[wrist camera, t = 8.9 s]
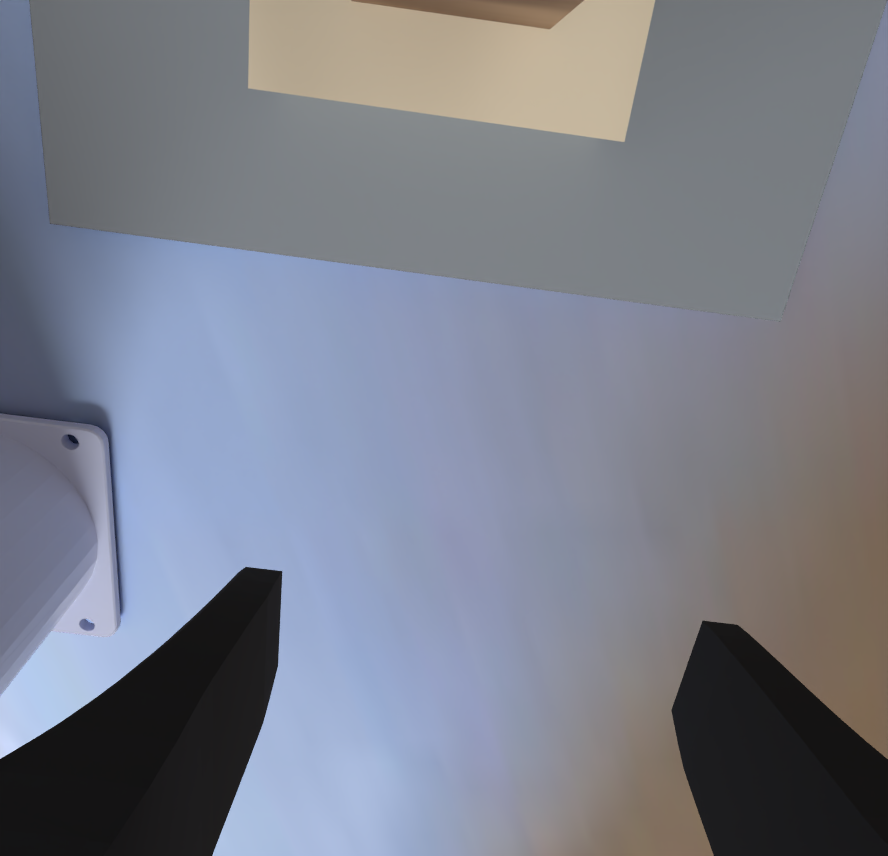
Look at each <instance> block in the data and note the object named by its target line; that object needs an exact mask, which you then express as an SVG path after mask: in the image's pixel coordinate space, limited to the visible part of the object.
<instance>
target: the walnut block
mask: <svg viewBox="0 0 888 856" xmlns="http://www.w3.org/2000/svg"><path fill="white" fill-rule="evenodd" d="M351 1H354V2H361V3H368V4H375V5H382V6H389V7H396V8H403V9H410V10H417V11H424V12H431V13H438V14H445V15H452V16H459V17H466V18H473V19H480V20H487V21H494V22H501V23H508V24H515V25H522V26H529V27H536V28H543V29H551V28H552V27H553V26H555V25H556V24H557V23H558V22H559V21H560V20H562V19H563V18H564V17H565V16H566V15H567V14H569V13H570V12H571V11H572V10H573V9H575V8H576V7H577V6H578V5H579V4H580V3H582V2H583V1H584V0H351Z"/></svg>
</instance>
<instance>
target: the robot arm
mask: <svg viewBox="0 0 888 856" xmlns="http://www.w3.org/2000/svg"><path fill="white" fill-rule="evenodd" d="M68 434H70V435H73V436H75V437H76V438H77V439H78V442H79V444H74V443H72V442H71V441H70V440H69V438H68ZM281 586H282V571H275V570H267V569H258V568H250V567H245V568H244V569H242V570H241V571H240V572H238V573H237V574H236V576H235V577H234V578H233V579H232V580H231V581H230V582H229V583H228V584H227V585H226V586H225V587H224V588H223V589H222V590H221V591H220V592H219V593H218V594H217V595H216V596H215V597H214V598H213V599H212V600H211V601H210V602H209V603H208V604H207V605H206V606H204V607H203V608H202V609H201V610H200V611H199V612H198V613H197V614H196V615H195V616H194V617H193V618H192V619H191V620H190V621H189V622H187V623H186V624H185V625H184V626H183V627H182V628H181V629H180V630H179V631H177V632H176V633H175V634H174V635H173V636H172V637H171V638H170V639H169V640H168V641H166V642H165V643H164V644H163V645H162V646H161V647H160V648H158V649H157V650H156V651H155V652H154V653H152V654H151V655H150V656H149V657H147V658H146V659H145V660H144V661H142V662H141V663H140V664H139V665H138V666H136V667H135V668H134V669H133V670H131V671H130V672H129V673H128V674H127V675H125V676H124V677H123V678H122V679H120V680H119V681H118V682H116V683H115V684H114V685H112V686H111V687H110V688H108V689H107V690H106V691H104V692H103V693H102V694H100V695H99V696H98V697H96V698H95V699H94V700H92V701H91V702H89V703H88V704H87V705H85V706H84V707H82V708H81V709H79V710H78V711H76V712H75V713H73V714H72V715H71V716H69V717H68V718H66V719H65V720H63V721H62V722H60V723H59V724H57V725H56V726H54V727H52V728H51V729H49V730H48V731H46V732H44V733H43V734H41V735H40V736H38V737H36V738H35V739H33V740H31V741H30V742H28V743H26V744H25V745H23V746H21V747H20V748H18V749H16V750H15V751H13V752H11V753H10V754H8V755H6V756H5V757H3V758H1V759H0V856H212V855H213V852H214V849H215V847H216V844H217V841H218V839H219V836H220V834H221V831H222V828H223V826H224V823H225V821H226V818H227V816H228V813H229V810H230V808H231V805H232V803H233V800H234V797H235V795H236V792H237V790H238V787H239V785H240V782H241V779H242V777H243V774H244V772H245V769H246V766H247V764H248V761H249V759H250V756H251V753H252V751H253V748H254V745H255V743H256V740H257V738H258V735H259V732H260V730H261V727H262V724H263V721H264V717H265V714H266V710H267V706H268V702H269V699H270V695H271V691H272V687H273V683H274V679H275V675H276V671H277V667H278V652H279V630H280V608H281ZM86 619H89V620H91V621H92V622H93V623H90V622H88V621H87V620H86ZM120 623H121V618H120V604H119V589H118V574H117V560H116V545H115V530H114V515H113V501H112V486H111V471H110V456H109V442H108V438H107V435H106V434H105V433H104V431H103V430H102V429H100V428H99V427H97V426H94V425H90V424H82V423H74V422H65V421H57V420H49V419H41V418H33V417H25V416H17V415H9V414H1V413H0V696H1V695H2V694H3V692H4V691H5V690H6V688H7V687H8V686H9V685H10V683H11V682H12V681H13V679H14V678H15V677H16V676H17V674H18V673H19V672H20V670H21V669H22V668H23V667H24V665H25V664H26V663H27V661H28V660H29V659H30V658H31V656H32V655H33V654H34V652H35V651H36V650H37V649H38V647H39V646H40V645H41V643H42V642H43V641H44V640H45V638H46V637H47V636H48V634H49V633H50V632H51V631H54V632H63V633H72V634H81V635H89V636H98V637H110V636H112V635H114V633H115V632H116V631H117V630H118V628H119V626H120ZM672 715H673V720H674V725H675V730H676V736H677V741H678V745H679V750H680V754H681V758H682V763H683V767H684V771H685V774H686V777H687V780H688V783H689V786H690V789H691V791H692V794H693V797H694V800H695V803H696V806H697V809H698V812H699V815H700V818H701V820H702V823H703V826H704V829H705V832H706V834H707V837H708V840H709V843H710V846H711V849H712V851H713V854H714V856H888V759H886V758H885V757H884V756H883V755H882V754H880V753H879V752H878V751H877V750H876V749H875V748H873V747H872V746H871V745H870V744H869V743H867V742H866V741H865V740H864V739H863V738H862V737H860V736H859V735H858V734H857V733H856V732H855V731H854V730H852V729H851V728H850V727H849V726H848V725H847V724H846V723H844V722H843V721H842V720H841V719H840V718H839V717H838V716H837V715H836V714H834V713H833V712H832V711H831V710H830V709H829V708H828V707H827V706H826V705H825V704H823V703H822V702H821V701H820V700H819V699H818V698H817V697H816V696H815V695H814V694H813V693H812V692H810V691H809V690H808V689H807V688H806V687H805V686H804V685H803V684H802V683H801V682H800V681H799V680H798V679H797V678H796V677H794V676H793V675H792V674H791V673H790V672H789V671H788V670H787V669H786V668H785V667H784V666H783V665H782V664H781V663H780V662H778V661H777V660H776V659H775V658H774V657H773V656H772V655H771V654H770V653H769V652H768V651H767V650H766V649H765V648H763V647H762V646H761V645H760V644H759V643H758V642H757V641H756V640H755V639H754V638H752V637H751V636H750V635H749V634H748V633H747V632H746V631H744V630H743V629H742V628H741V627H740V626H738V625H734V624H726V623H717V622H709V621H702V624H701V627H700V630H699V633H698V636H697V638H696V641H695V644H694V647H693V650H692V653H691V656H690V659H689V661H688V664H687V667H686V670H685V673H684V676H683V679H682V682H681V684H680V687H679V690H678V693H677V696H676V699H675V702H674V705H673V707H672Z"/></svg>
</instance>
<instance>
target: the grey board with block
mask: <svg viewBox="0 0 888 856" xmlns="http://www.w3.org/2000/svg"><path fill="white" fill-rule="evenodd" d="M29 2H30V13H31V24H32V34H33V45H34V56H35V67H36V78H37V89H38V99H39V110H40V121H41V132H42V143H43V154H44V165H45V175H46V186H47V197H48V208H49V219H50V224H56V225H64V226H71V227H79V228H86V229H93V230H101V231H108V232H116V233H123V234H131V235H138V236H145V237H153V238H160V239H168V240H175V241H183V242H190V243H198V244H205V245H212V246H220V247H227V248H235V249H242V250H250V251H257V252H264V253H272V254H279V255H287V256H294V257H302V258H309V259H317V260H324V261H331V262H339V263H346V264H354V265H361V266H369V267H376V268H383V269H391V270H398V271H406V272H413V273H421V274H428V275H436V276H443V277H450V278H458V279H465V280H473V281H480V282H488V283H495V284H502V285H510V286H517V287H525V288H532V289H540V290H547V291H555V292H562V293H569V294H577V295H584V296H592V297H599V298H607V299H614V300H621V301H629V302H636V303H644V304H651V305H659V306H666V307H674V308H681V309H688V310H696V311H703V312H711V313H718V314H726V315H733V316H740V317H748V318H755V319H763V320H770V321H778V322H780V321H781V318H782V315H783V312H784V309H785V306H786V303H787V300H788V297H789V294H790V291H791V288H792V285H793V282H794V279H795V276H796V273H797V270H798V267H799V264H800V261H801V258H802V255H803V252H804V249H805V246H806V243H807V240H808V237H809V234H810V231H811V228H812V225H813V222H814V219H815V216H816V213H817V210H818V207H819V204H820V201H821V198H822V195H823V192H824V189H825V186H826V183H827V180H828V177H829V174H830V171H831V168H832V165H833V162H834V159H835V156H836V153H837V150H838V147H839V144H840V141H841V138H842V135H843V132H844V129H845V126H846V123H847V120H848V117H849V114H850V111H851V108H852V105H853V102H854V99H855V96H856V93H857V90H858V87H859V84H860V81H861V78H862V75H863V72H864V69H865V66H866V63H867V60H868V57H869V54H870V51H871V48H872V45H873V42H874V39H875V36H876V33H877V30H878V27H879V24H880V21H881V18H882V15H883V12H884V9H885V6H886V3H887V0H584V1H583V2H582V3H580V4H579V5H578V6H577V7H576V8H575V9H573V10H572V11H571V12H570V13H569V14H567V15H566V16H565V17H564V18H563V19H562V20H560V21H559V22H558V23H557V24H556V25H555V26H553V27H552V28H551V29H543V28H536V27H529V26H522V25H515V24H508V23H501V22H494V21H487V20H480V19H473V18H466V17H459V16H452V15H445V14H438V13H431V12H424V11H417V10H410V9H403V8H396V7H389V6H382V5H375V4H368V3H361V2H354V1H351V0H29Z"/></svg>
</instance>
